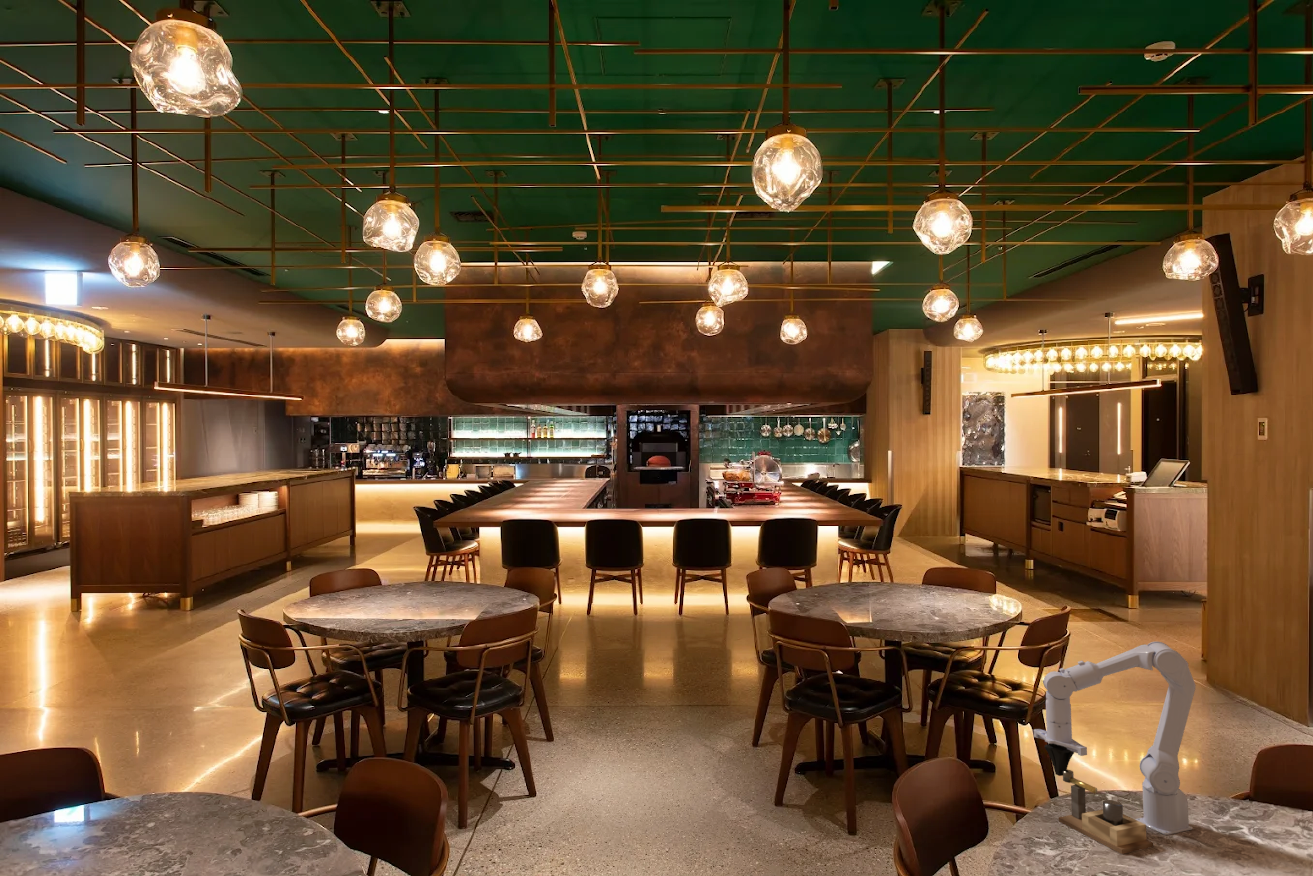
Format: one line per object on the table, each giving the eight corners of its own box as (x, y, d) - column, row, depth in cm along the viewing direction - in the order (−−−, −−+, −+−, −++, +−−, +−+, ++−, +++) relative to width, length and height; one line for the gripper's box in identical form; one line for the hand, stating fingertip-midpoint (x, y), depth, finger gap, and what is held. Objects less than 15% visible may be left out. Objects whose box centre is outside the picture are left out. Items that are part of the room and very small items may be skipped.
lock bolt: (1067, 779, 188) (1067, 768, 189) (1099, 792, 180) (1098, 782, 180) (1060, 780, 188) (1060, 770, 188) (1091, 794, 179) (1091, 783, 179)
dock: (1088, 815, 187) (1087, 781, 187) (1153, 847, 171) (1152, 809, 171) (1058, 821, 183) (1057, 787, 184) (1121, 854, 167) (1120, 816, 168)
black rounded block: (1126, 836, 174) (1126, 805, 174) (1116, 839, 172) (1115, 808, 173) (1110, 828, 178) (1109, 798, 178) (1099, 831, 176) (1099, 801, 176)
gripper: (1024, 713, 195) (1025, 766, 195) (1071, 731, 182) (1072, 788, 181) (1044, 711, 198) (1046, 762, 197) (1092, 728, 184) (1094, 784, 183)
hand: (1060, 774), depth 189 cm, fingers closed
